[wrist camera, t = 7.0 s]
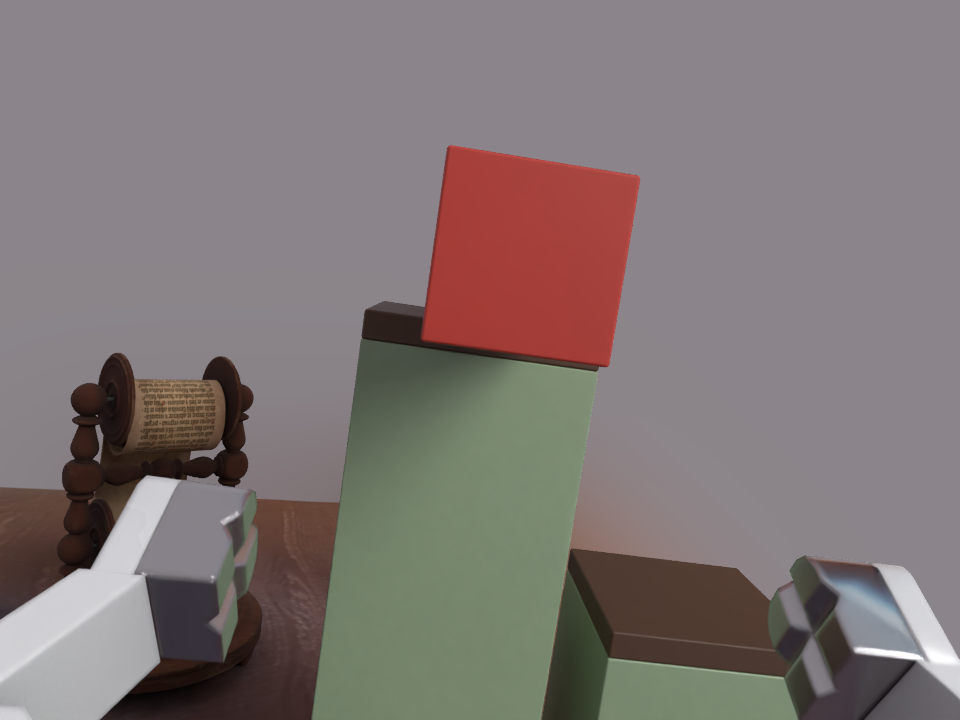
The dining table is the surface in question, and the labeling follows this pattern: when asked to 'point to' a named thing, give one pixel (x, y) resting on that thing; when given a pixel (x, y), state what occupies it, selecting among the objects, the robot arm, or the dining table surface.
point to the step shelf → (510, 561)
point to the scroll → (154, 473)
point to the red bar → (529, 256)
